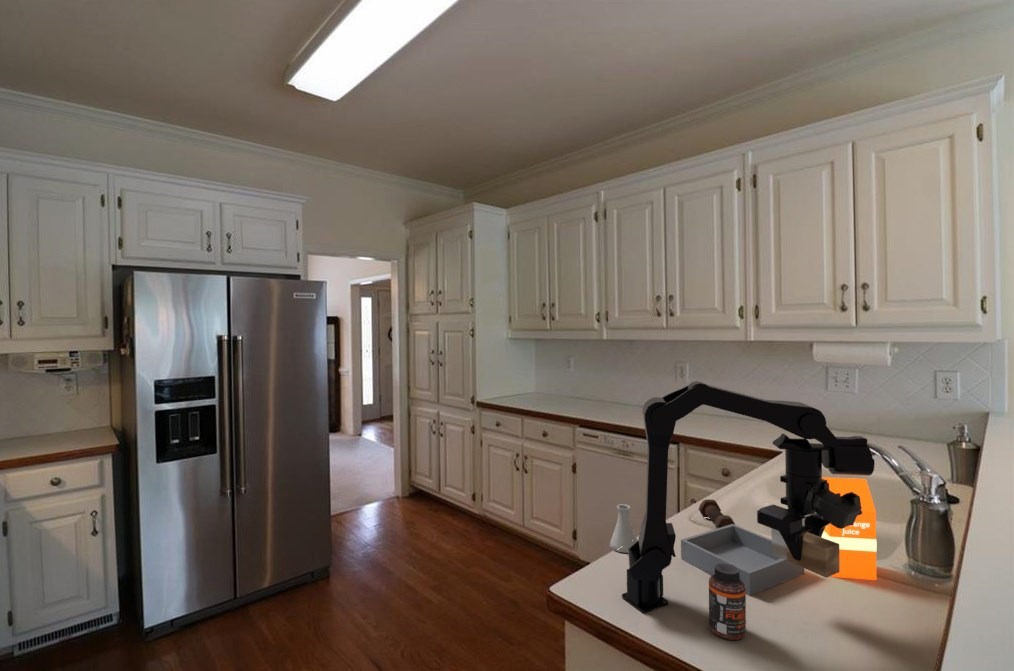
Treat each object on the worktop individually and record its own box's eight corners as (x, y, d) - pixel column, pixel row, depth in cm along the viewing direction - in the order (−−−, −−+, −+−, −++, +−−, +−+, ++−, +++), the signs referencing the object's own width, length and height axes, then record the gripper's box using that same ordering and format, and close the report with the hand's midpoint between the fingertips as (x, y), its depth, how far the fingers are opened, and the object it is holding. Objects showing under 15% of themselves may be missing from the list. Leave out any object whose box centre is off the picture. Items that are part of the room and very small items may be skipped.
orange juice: (814, 559, 111) (813, 472, 110) (858, 562, 109) (857, 473, 108) (830, 577, 103) (829, 483, 103) (877, 580, 101) (876, 485, 101)
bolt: (730, 547, 121) (705, 521, 136) (747, 537, 121) (721, 512, 136) (718, 528, 121) (695, 504, 136) (736, 518, 121) (711, 494, 136)
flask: (616, 538, 124) (615, 499, 124) (643, 545, 120) (643, 504, 120) (604, 549, 118) (603, 508, 118) (633, 556, 114) (632, 514, 114)
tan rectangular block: (826, 577, 84) (826, 549, 84) (771, 554, 93) (771, 528, 93) (839, 571, 86) (839, 543, 86) (785, 549, 95) (784, 523, 95)
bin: (749, 595, 97) (749, 573, 96) (681, 558, 112) (680, 539, 112) (804, 573, 105) (803, 552, 104) (732, 541, 120) (732, 523, 120)
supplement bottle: (728, 646, 82) (727, 579, 82) (701, 626, 87) (700, 563, 87) (754, 636, 84) (753, 571, 84) (726, 617, 90) (725, 556, 90)
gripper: (817, 495, 78) (818, 591, 78) (881, 476, 86) (881, 563, 86) (754, 476, 88) (755, 562, 88) (816, 461, 96) (817, 539, 96)
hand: (804, 557), depth 89 cm, fingers closed on tan rectangular block, 4 cm apart
